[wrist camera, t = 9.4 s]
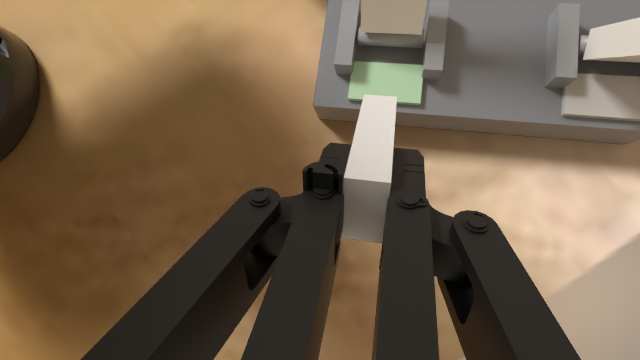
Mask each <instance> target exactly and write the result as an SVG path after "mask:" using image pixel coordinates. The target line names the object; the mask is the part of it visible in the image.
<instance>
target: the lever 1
mask: <svg viewBox="0 0 640 360" xmlns="http://www.w3.org/2000/svg"><path fill="white" fill-rule="evenodd" d="M426 4H427V0H361V27H359V32H358V45H368V46H389V47H410V48H422V46H423V40H424V29H423V23H424V17H425V10H426Z"/></svg>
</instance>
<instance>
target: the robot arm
mask: <svg viewBox="0 0 640 360" xmlns="http://www.w3.org/2000/svg"><path fill="white" fill-rule="evenodd" d="M38 84H39V82H38V72H37V67H36V63H35V60H34V58H33V56H32V54H31V52H30V50H29V48H28V47H27V46H26V44H25V43H24V42H23V41H22V40H21V39H20V38H19V37H17V36H16V35H15V34H13V33H11V32H10V31H8V30H6V29H4V28H2V27H1V26H0V160H1V159H2V158H3V157H5V156H6V155H7V154H8V153H9V152H10V151H11V150H12V149H13V147H14V146H15V145H16V144H17V143H18V141H19V140H20V139H21V137H22V136H23V134H24V132H25V131H26V129H27V127H28V125H29V123H30V121H31V118H32V116H33V113H34V110H35V106H36V102H37V97H38ZM396 104H397V97H395V96H380V95H366V94H364V96H363V101H362V105H361V109H360V113H359V117H358V121H357V125H356V129H355V133H354V138H353V142H352V145H348V144H338V143H330V144H329V145H327V146H326V147H325V148H324V149H323V151H322V154H321V158H320V160H319V162H316V163H311V164H310V165H308V166H306V167H305V168H304V170H303V193H302V194H299V195H296V196H292V197H284V198H280V197H279V194H278V193H277V192H276V191H275V190H272V189H270V188H255V189H252V190H250V191H248V192H246V193H245V194H244V195H243V196H242V197H241V198H240V199H239V200H238V201H237V202H236V203H235V204H234V205H233V206H232V207H231V208H230V209H229V210H228V211H227V212H226V213H225V214H224V215H223V216H222V217H221V218H220V219H219V220H218V221H217V222H216V223H215V224H214V225H213V226H212V227H211V228H210V229H209V230H208V231H207V232H206V233H205V234H204V235H203V236H202V237H201V238H200V239H199V240H198V241H197V242H196V243H195V244H194V245H193V246H192V247H191V248H190V249H189V250H188V251H187V252H186V253H185V254H184V255H183V256H182V257H181V258H180V259H179V260H178V261H177V262H176V263H175V264H174V265H173V266H172V268H171V269H170V270H169V271H168V272H167V273H166V274H165V275H164V276H163V277H162V278H161V279H160V280H159V281H158V282H157V283H156V284H155V285H154V286H153V287H152V288H151V289H150V290H149V291H148V292H147V293H146V294H145V295H144V296H143V297H142V298H141V299H140V300H139V301H138V302H137V303H136V304H135V305H134V306H133V307H132V308H131V309H130V310H129V311H128V312H127V313H126V314H125V315H124V316H123V317H122V318H121V319H120V320H119V321H118V322H117V323H116V324H115V325H114V326H113V327H112V328H111V329H110V330H109V331H108V332H107V333H106V334H105V335H104V336H103V337H102V338H101V339H100V340H99V341H98V342H97V343H96V344H95V346H94V347H93V348H92V349H91V350H90V351H89V352H88V353H87V354H86V355H85V356H84V357H83V358H82V359H81V360H213V359H214V358H215V357H216V355H217V354H218V352H219V351H220V349H221V348H222V347H223V345H224V344H225V342H226V341H227V339H228V338H229V336H230V335H231V334H232V332H233V331H234V329H235V328H236V326H237V325H238V324H239V322H240V321H241V319H242V318H243V316H244V315H245V313H246V312H247V311H248V309H249V308H250V306H251V305H252V303H253V302H254V301H255V299H256V298H257V296H258V295H259V293H260V292H261V290H262V289H263V288H264V286H265V285H266V283H267V282H268V280H269V279H270V278H271V280H270V283H269V285H268V288H267V291H266V294H265V296H264V299H263V302H262V304H261V307H260V310H259V313H258V315H257V318H256V321H255V323H254V326H253V329H252V332H251V334H250V337H249V340H248V342H247V345H246V348H245V351H244V353H243V356H242V359H241V360H318V357H319V352H320V347H321V342H322V337H323V332H324V327H325V322H326V317H327V312H328V307H329V302H330V297H331V292H332V287H333V282H334V277H335V272H336V267H337V262H338V257H339V252H340V239H341V234H342V238H346V239H354V240H361V241H368V242H376V243H382V251H381V258H380V266H379V269H380V272H379V283H378V295H377V306H376V318H375V329H374V341H373V352H372V360H439V351H438V335H437V318H436V302H435V285H434V276H436V277H437V279H438V284H439V286H440V289H441V292H442V294H443V297H444V300H445V303H446V305H447V308H448V311H449V314H450V316H451V319H452V322H453V325H454V327H455V330H456V333H457V335H458V338H459V341H460V344H461V346H462V349H463V352H464V355H465V357H466V360H581V359H580V357H579V356H578V354H577V353H576V351H575V349H574V348H573V346H572V344H571V343H570V341H569V340H568V338H567V336H566V335H565V333H564V331H563V330H562V328H561V327H560V325H559V323H558V322H557V320H556V318H555V317H554V315H553V314H552V312H551V310H550V309H549V307H548V306H547V304H546V302H545V301H544V299H543V297H542V296H541V294H540V293H539V291H538V289H537V288H536V286H535V285H534V283H533V281H532V280H531V278H530V276H529V275H528V273H527V272H526V270H525V268H524V267H523V265H522V264H521V262H520V260H519V259H518V257H517V255H516V254H515V252H514V251H513V249H512V247H511V246H510V244H509V243H508V241H507V239H506V238H505V236H504V234H503V233H502V231H501V230H500V228H499V226H498V225H497V223H496V222H495V221H494V220H493V219H492V218H490V217H489V216H487V215H485V214H483V213H480V212H477V211H469V210H467V211H461V212H459V213H457V214H456V215H455V216H454V217H451V216H448V215H445V214H443V213H440V212H438V211H437V210H435V209H434V208H432V207H431V206H430V205H429V202H428V200H427V199H426V191H425V174H424V157H423V156H422V155H421V153H420V152H419V151H418V150H412V149H401V148H394V133H395V119H396ZM271 276H272V277H271Z"/></svg>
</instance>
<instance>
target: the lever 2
mask: <svg viewBox="0 0 640 360" xmlns="http://www.w3.org/2000/svg"><path fill="white" fill-rule="evenodd" d="M578 55H581V56H584V57H583V60H598V61H619V62H639V63H640V17H639V18H635V19H630V20H626V21H622V22H618V23H613V24H609V25H605V26H601V27H596V28H592V29H590V33H589V36H586V35H579V43H578Z"/></svg>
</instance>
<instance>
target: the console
mask: <svg viewBox="0 0 640 360" xmlns="http://www.w3.org/2000/svg"><path fill="white" fill-rule="evenodd" d="M639 17H640V0H427V4H426V10H425V17H424V23H423V29H424V40H423V46H422V48H410V47H389V46H368V45H358V32H359V27H361V0H328V4H327V11H326V18H325V25H324V32H323V39H322V46H321V53H320V60H319V67H318V74H317V81H316V88H315V95H314V102H313V107H314V109H315V111H316V113H317V115H318V117H319V119H326V120H339V121H351V122H357V121H358V117H359V113H360V109H361V105H362V101H363V96H364V94H366V95H380V96H395V97H397V104H396V119H395V125H399V126H411V127H423V128H435V129H447V130H460V131H472V132H484V133H496V134H508V135H520V136H532V137H544V138H556V139H568V140H581V141H593V142H605V143H617V144H627V143H629V142H632V141H635V140H637V139H640V63H639V62H619V61H598V60H583V57H584V56H581V55H578V43H579V35H586V36H589V33H590V29H592V28H596V27H601V26H605V25H609V24H613V23H618V22H622V21H626V20H630V19H635V18H639Z"/></svg>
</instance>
